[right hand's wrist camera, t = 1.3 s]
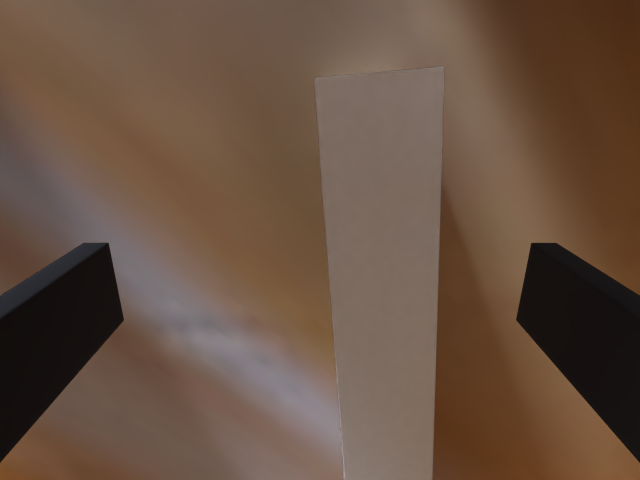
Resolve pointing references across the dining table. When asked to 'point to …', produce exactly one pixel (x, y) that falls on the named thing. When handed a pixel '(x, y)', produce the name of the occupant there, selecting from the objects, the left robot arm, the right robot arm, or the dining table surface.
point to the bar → (383, 262)
